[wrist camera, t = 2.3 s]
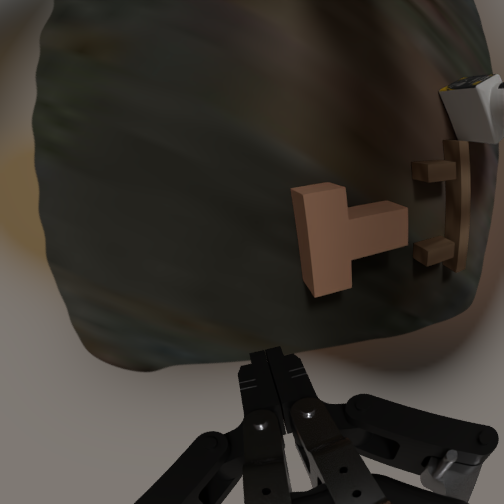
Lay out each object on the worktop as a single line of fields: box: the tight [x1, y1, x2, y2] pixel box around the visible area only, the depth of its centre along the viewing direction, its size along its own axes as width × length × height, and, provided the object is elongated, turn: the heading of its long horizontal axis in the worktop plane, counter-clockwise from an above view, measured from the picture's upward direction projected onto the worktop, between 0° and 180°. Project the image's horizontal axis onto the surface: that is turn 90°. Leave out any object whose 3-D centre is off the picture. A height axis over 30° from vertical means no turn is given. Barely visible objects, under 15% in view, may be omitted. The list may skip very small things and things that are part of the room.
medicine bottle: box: [439, 74, 504, 144], centre depth 20 cm, size 7×7×12 cm
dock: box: [411, 140, 471, 273], centre depth 28 cm, size 17×8×3 cm, turn 11°
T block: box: [291, 182, 408, 298], centre depth 27 cm, size 10×11×4 cm
